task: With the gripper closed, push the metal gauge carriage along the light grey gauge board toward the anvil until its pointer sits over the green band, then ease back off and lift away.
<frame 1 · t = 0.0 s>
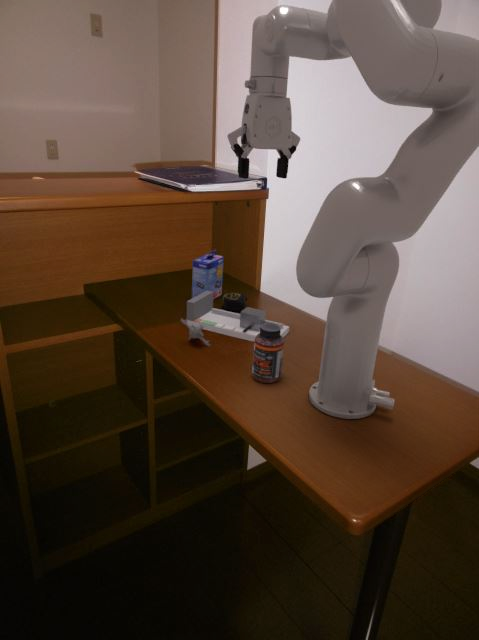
hand: (262, 177, 98), 37 cm above the table, fingers open, 9 cm apart
ink cartridge box: (207, 298, 136), on the table
carriage: (250, 320, 112), point 4 cm above the table, slide at 0.0 cm
gauge board: (237, 328, 116), on the table
supplement bottle: (266, 377, 94), on the table
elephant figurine: (193, 342, 108), on the table
tape measure: (236, 308, 129), on the table
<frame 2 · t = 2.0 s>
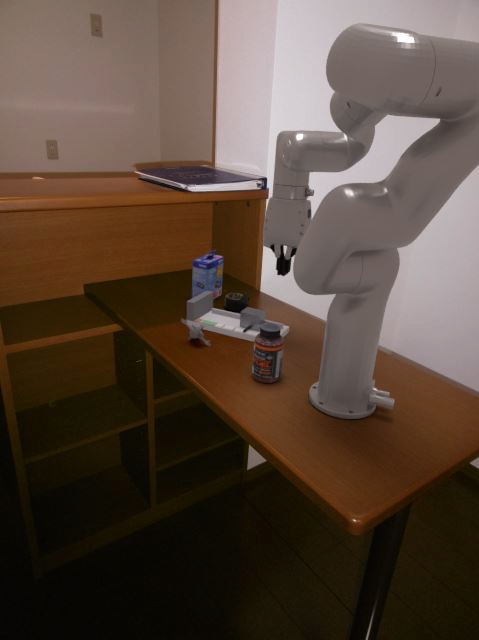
hand: (282, 274, 105), 16 cm above the table, fingers closed
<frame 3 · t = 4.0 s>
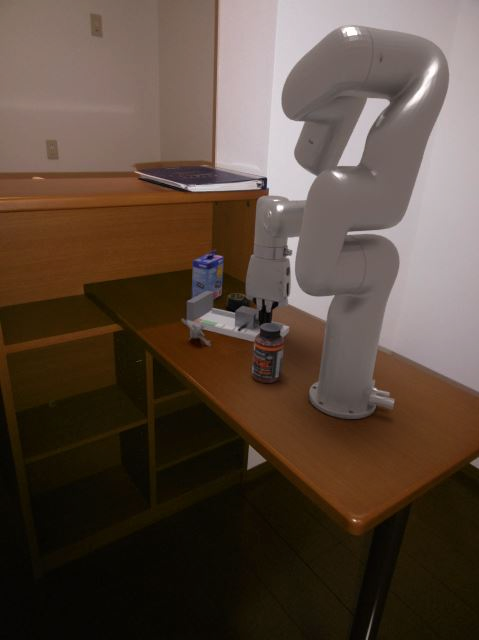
hand: (264, 324, 112), 3 cm above the table, fingers closed
carriage: (245, 319, 112), point 4 cm above the table, slide at 1.4 cm, touching gripper
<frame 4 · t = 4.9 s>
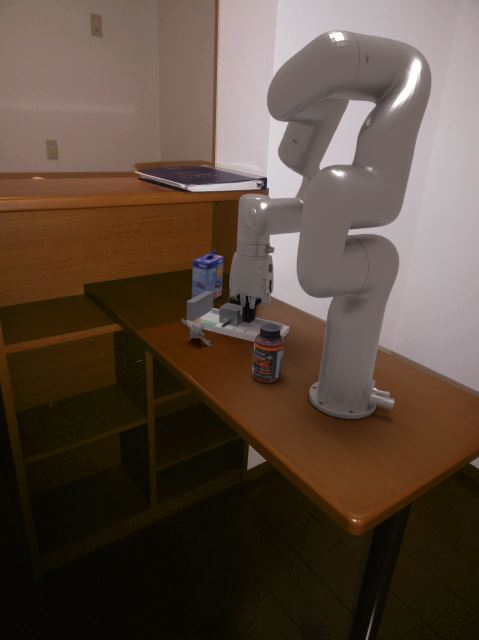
hand: (248, 321, 114), 3 cm above the table, fingers closed
carriage: (229, 316, 114), point 4 cm above the table, slide at 5.8 cm, touching gripper
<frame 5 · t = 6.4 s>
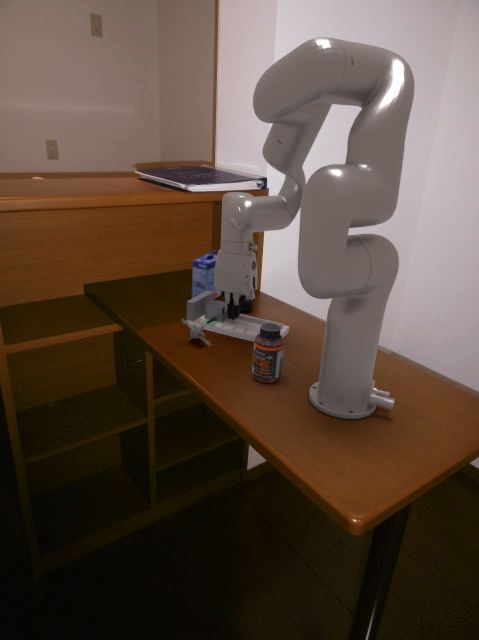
hand: (233, 317, 115), 3 cm above the table, fingers closed
carriage: (214, 312, 116), point 4 cm above the table, slide at 10.1 cm, touching gripper
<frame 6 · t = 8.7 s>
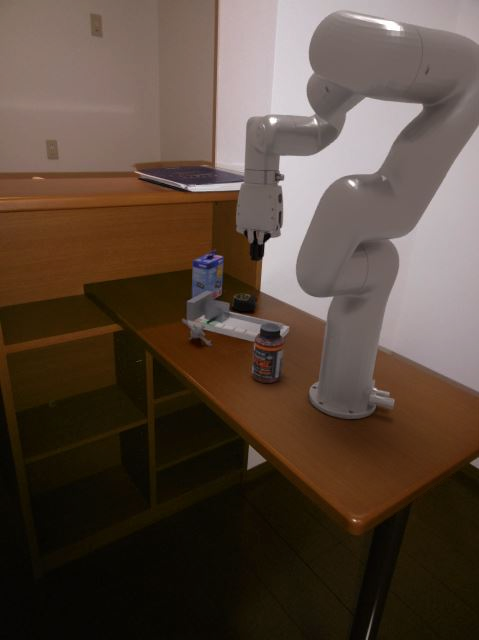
hand: (256, 259, 107), 19 cm above the table, fingers closed
carriage: (214, 312, 116), point 4 cm above the table, slide at 10.1 cm
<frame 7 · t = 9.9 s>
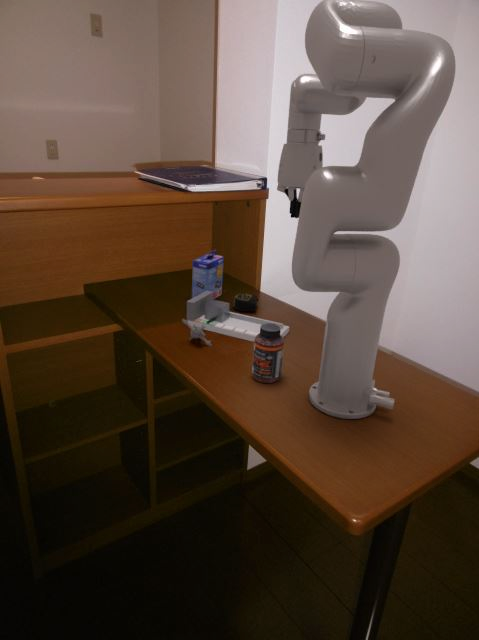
hand: (295, 217, 114), 27 cm above the table, fingers closed
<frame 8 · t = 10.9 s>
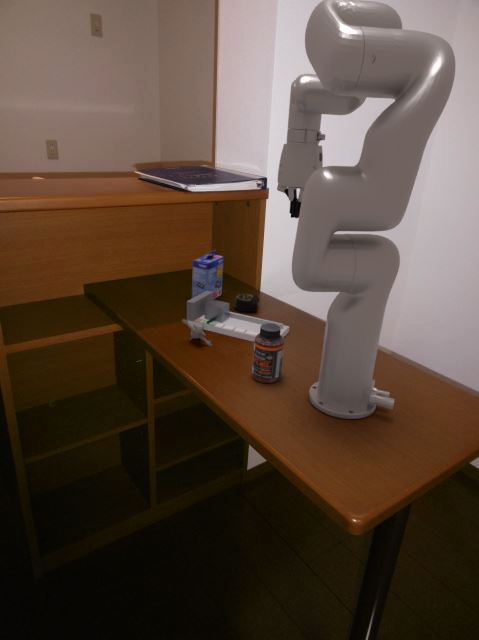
hand: (295, 217, 114), 27 cm above the table, fingers closed
at the end: carriage slide at 10.1 cm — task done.
